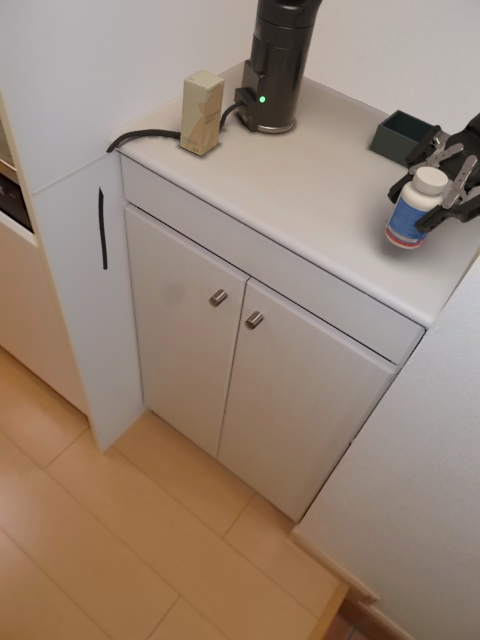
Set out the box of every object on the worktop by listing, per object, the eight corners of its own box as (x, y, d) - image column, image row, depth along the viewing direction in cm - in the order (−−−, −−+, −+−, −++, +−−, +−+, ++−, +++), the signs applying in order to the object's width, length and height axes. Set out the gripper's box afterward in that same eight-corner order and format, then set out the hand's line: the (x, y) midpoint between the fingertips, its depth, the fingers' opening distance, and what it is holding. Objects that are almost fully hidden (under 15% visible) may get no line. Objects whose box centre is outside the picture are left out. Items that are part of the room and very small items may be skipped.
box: (200, 157, 84) (206, 89, 75) (178, 146, 85) (181, 79, 76) (218, 143, 87) (226, 77, 78) (197, 133, 88) (202, 67, 80)
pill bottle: (423, 254, 69) (455, 194, 62) (383, 245, 69) (411, 183, 62) (422, 228, 73) (452, 168, 65) (384, 219, 73) (410, 159, 66)
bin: (410, 168, 89) (420, 144, 86) (369, 149, 92) (378, 124, 88) (428, 151, 94) (439, 127, 91) (389, 132, 96) (398, 109, 93)
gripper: (475, 69, 63) (363, 167, 68) (562, 134, 56) (429, 239, 60) (486, 107, 69) (382, 194, 74) (566, 170, 61) (444, 263, 66)
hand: (404, 214), depth 67 cm, fingers closed on pill bottle, 5 cm apart
